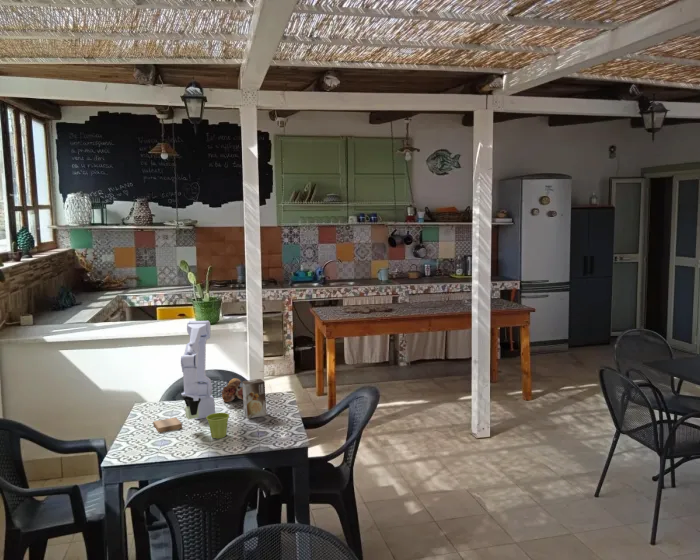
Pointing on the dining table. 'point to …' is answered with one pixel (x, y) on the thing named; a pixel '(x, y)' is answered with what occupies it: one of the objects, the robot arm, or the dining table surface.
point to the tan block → (167, 424)
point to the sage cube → (188, 413)
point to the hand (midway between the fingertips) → (192, 413)
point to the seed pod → (232, 390)
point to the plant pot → (218, 424)
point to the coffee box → (254, 398)
